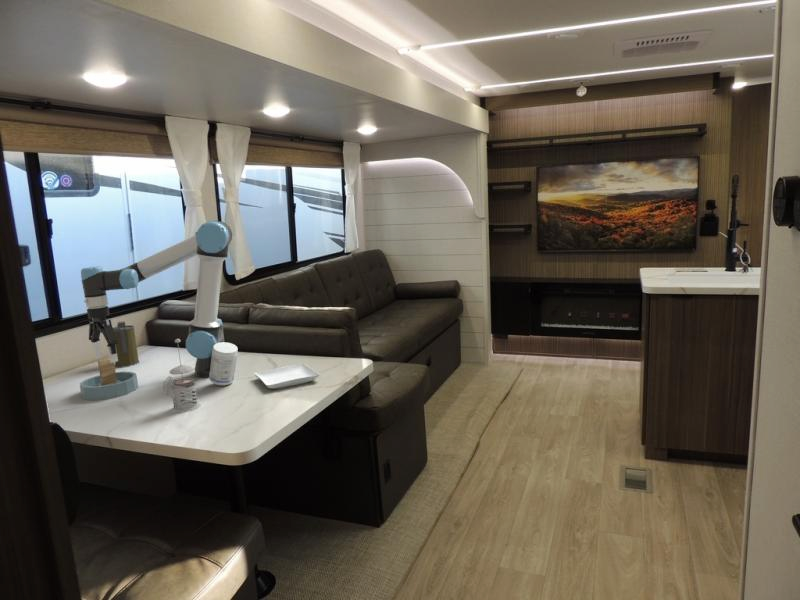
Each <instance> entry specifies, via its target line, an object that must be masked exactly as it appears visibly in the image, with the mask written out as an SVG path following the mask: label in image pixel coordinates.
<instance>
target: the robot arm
mask: <svg viewBox="0 0 800 600" xmlns="http://www.w3.org/2000/svg"><path fill="white" fill-rule="evenodd" d="M232 240H233V232H232V229H231V227H230V226H229V225H228V224H227V223H225V222H224V221H220V220H210V221H207V222H204V223H202V225H200V226H199V228H198V229H197V231H195V233H194V235H193V236H191V237H189V238H186V239H184V240H182V241H180V242H178V243H176V244H174V245H171V246H169V247H166V248H165V249H163V250H160V251H158V252H156V253H154V254H152V255H150V256H147V257H146V258H144V259H141V260H139V261H137V262H135V263H132V264H131V265H127V266H126V267H124V268H120V269H116V270H104V269H103V267H102V266H99V265H98V266H89V267H83V268H82V269H81V270H80V277H81V278H80V279H81V280H80V281H81V285H82V290H83V295H84V300H83V303H85V306H86V308H87V309H86V312H87V318H88V322H89V325H88V326H89V327H88V340H89V341H90V342H91V343H92V349H93V350H92V351H93V355H94V359H100V358H101V359H102V358H103V352H102V345H101V338H100V337H101V333H102V335H103V337H104V339H105V341H106V343H107V345H106V347H107V351H108V358H110V363H113V362H114V363H115V362H117V361H118V357H117V351H116V344H118V340H117V338H116V335H115V332H114V330H113V328H114V327H113V325H112V320H111V319H107V317H108V316H110V314H111V313H110V307H109V305H108V304H109V301H108V295H107V291H117V290H129V289H130V290H131V289H136V288H137V287H138V286H139V283H140V282H142V281H144V280H148V278H151V277H153V276H155V275H158V274H159V273H163V272H164V271H167V270H168V269H171V268H172V267H175V266H177V265H179V264H181V263H184V262H185V261H188V260H190V259H191V258H192V259H193V258H194V257H198V258H199V265H198V266H199V268H198V270H199V271H198V278H197V288H196V289H197V290H196V299H195V306H194V307H195V309H194V318H193V319H192V320H190V322H189V325H188V326H189V328H188V336H187V338H186V340H185V348H186V349H185V350H186V351H187V352H188V353H189V355H190V356H192V357H194V358H195V359H196V361H195V365H194V366H195V367H194V375H195V376H196V377H200V378H209V374H210V366H211V358H212V350H213V346H214V345H215V344H216V343H220V342H225V336H224V325H223V321H222V319H220V318H218V312H219V303H220V292H221V284H222V276H223V275H222V274H223V264H224V261H226V260H227V258H228V255H229V245H230V244H231V242H232Z"/></svg>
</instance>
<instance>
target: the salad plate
mask: <svg viewBox="0 0 800 600" xmlns="http://www.w3.org/2000/svg"><path fill="white" fill-rule="evenodd" d="M254 376H255V377H256V378H258V379H259V380H260V382H261V381H262V383H263V384H264V385H265V386H266V388H269V389H275V390H276V389H282V388H287V387H288V388H289V387H293V386H297V385H303V384H307V383H309V382H311V381H314V380H316V379H317V378H319V376H320V373H319V372H318V371H315V370H314V369H313V368H311V367H310V366H309V365H307V364H306V363H299V364H298V363H297V364H294V365H287V366H282V367H281V366H280V367H276V368H270V369H267V370H262V371H257V372H254Z"/></svg>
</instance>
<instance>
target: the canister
mask: <svg viewBox="0 0 800 600" xmlns="http://www.w3.org/2000/svg"><path fill="white" fill-rule="evenodd" d="M113 330H114V332H115V335H116V338H117V340H118V344H116V351H117V357H118V361H117V362H114V365H115V367H116V366H117V367H116V368H123V367H122V366H127V367H131V366H130V365H133V366H135V365H134V364H136V365H138V364H139V363H140V360H139V353H138V345H137V340H136V339H137V338H136V332H135V325H127V324H126V321H118V322H117V325H116V326H115V327H113ZM137 363H138V364H137Z"/></svg>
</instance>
